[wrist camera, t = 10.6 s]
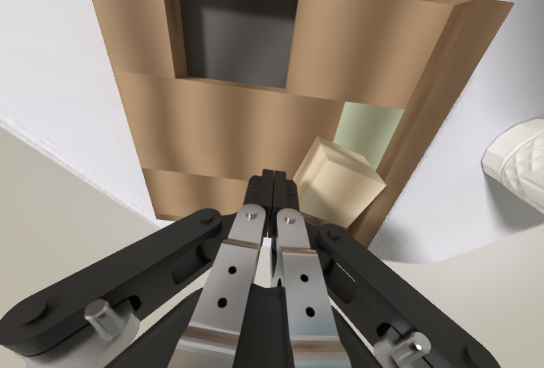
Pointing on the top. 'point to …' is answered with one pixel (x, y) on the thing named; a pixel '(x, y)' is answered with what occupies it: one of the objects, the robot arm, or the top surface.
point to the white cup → (519, 161)
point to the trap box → (287, 89)
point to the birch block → (335, 183)
